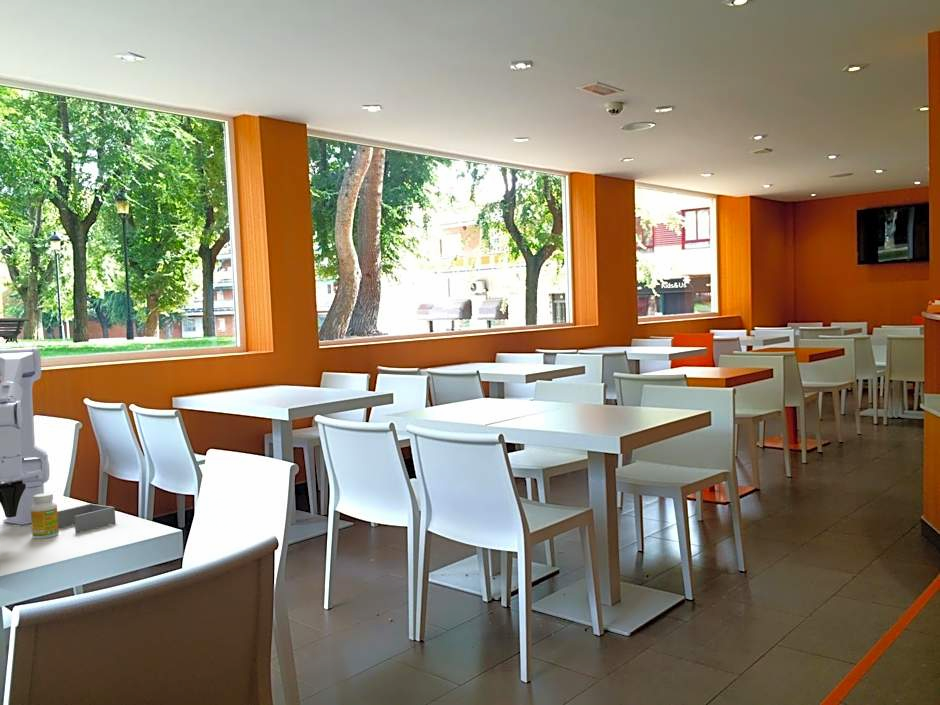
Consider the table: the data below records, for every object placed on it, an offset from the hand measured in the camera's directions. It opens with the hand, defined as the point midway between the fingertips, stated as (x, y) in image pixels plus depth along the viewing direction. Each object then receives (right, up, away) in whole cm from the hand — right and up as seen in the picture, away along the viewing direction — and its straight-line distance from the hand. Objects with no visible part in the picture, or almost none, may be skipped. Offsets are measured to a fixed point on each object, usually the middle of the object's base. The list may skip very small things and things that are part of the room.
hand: (10, 516), depth 180 cm
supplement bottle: (+4, -6, +7) cm, 10 cm away
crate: (+10, -5, +15) cm, 18 cm away
